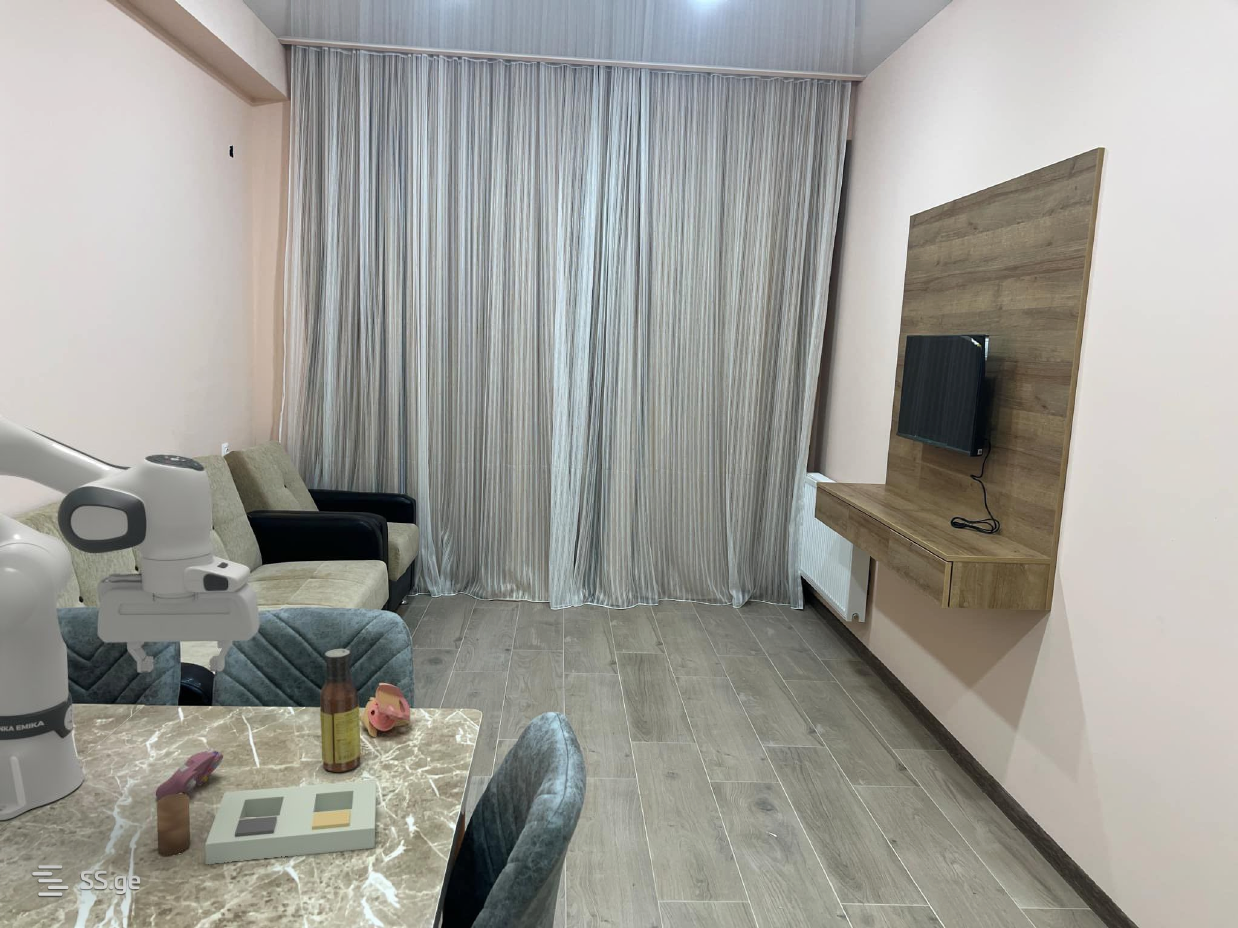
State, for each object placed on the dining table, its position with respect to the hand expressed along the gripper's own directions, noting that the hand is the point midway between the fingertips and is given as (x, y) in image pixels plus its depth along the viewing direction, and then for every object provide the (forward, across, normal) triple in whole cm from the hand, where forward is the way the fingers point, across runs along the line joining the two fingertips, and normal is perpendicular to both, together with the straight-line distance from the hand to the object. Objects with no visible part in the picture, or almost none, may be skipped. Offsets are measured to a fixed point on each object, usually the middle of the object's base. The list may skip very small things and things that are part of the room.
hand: (181, 670), depth 120 cm
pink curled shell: (+25, +24, +35) cm, 49 cm away
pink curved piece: (+25, -4, +14) cm, 29 cm away
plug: (+25, -1, -3) cm, 25 cm away
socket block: (+25, +15, +1) cm, 29 cm away
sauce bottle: (+25, +17, +21) cm, 37 cm away
